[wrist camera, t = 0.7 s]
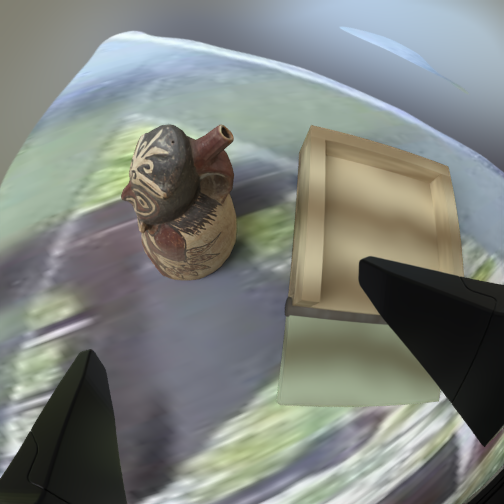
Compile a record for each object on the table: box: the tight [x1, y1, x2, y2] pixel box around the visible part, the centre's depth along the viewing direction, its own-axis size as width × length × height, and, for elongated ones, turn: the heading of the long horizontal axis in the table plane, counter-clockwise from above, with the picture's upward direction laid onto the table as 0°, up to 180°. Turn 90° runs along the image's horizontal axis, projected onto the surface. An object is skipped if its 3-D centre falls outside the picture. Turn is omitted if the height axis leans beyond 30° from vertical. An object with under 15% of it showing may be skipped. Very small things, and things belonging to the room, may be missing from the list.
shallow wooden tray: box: [276, 125, 464, 407], centre depth 23 cm, size 21×14×4 cm
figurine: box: [121, 125, 237, 280], centre depth 18 cm, size 7×7×12 cm
